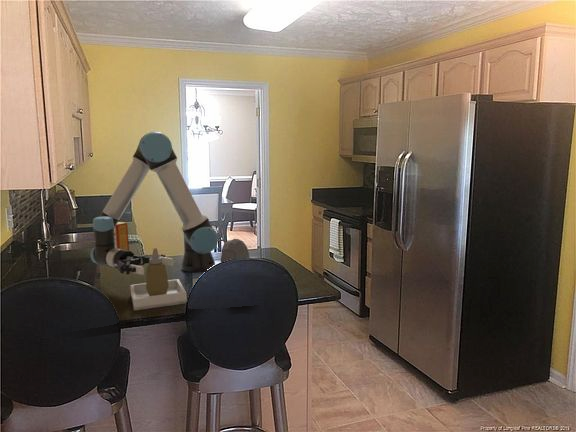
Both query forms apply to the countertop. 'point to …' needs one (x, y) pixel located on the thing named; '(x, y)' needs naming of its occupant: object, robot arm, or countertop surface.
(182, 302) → the box
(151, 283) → the squeeze bottle
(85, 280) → the countertop surface
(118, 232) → the baking soda box
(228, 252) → the small grey backpack
